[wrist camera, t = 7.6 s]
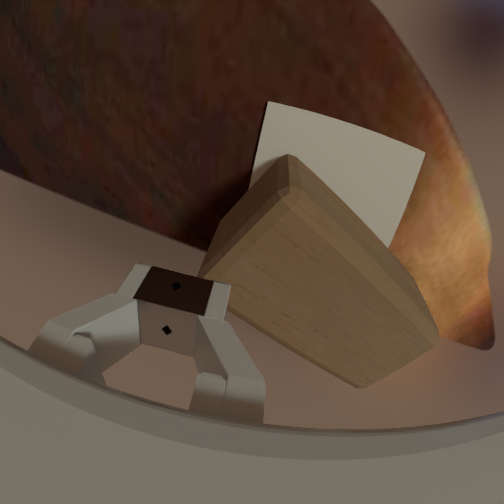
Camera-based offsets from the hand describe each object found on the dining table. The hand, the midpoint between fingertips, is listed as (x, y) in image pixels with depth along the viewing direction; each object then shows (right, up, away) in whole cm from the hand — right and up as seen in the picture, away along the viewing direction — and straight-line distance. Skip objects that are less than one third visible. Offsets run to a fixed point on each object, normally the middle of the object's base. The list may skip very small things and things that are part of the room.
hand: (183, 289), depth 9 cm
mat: (+10, +7, +17) cm, 20 cm away
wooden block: (+1, +4, +13) cm, 13 cm away
